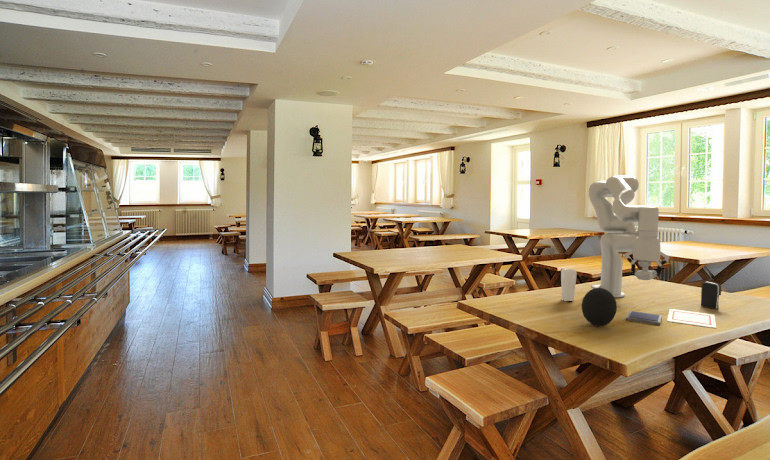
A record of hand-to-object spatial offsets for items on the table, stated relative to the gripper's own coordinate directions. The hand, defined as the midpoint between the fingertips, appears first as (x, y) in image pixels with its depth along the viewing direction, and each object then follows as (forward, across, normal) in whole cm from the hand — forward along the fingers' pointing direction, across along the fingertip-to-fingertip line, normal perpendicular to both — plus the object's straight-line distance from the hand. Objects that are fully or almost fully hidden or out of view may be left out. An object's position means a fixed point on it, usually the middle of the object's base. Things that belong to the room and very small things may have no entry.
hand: (645, 274), depth 194 cm
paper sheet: (+17, +17, -1) cm, 24 cm away
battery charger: (+17, +24, +25) cm, 38 cm away
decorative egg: (+17, -14, -34) cm, 40 cm away
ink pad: (+17, +1, -14) cm, 22 cm away
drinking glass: (+16, -32, +1) cm, 36 cm away
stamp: (+3, 0, +1) cm, 3 cm away
